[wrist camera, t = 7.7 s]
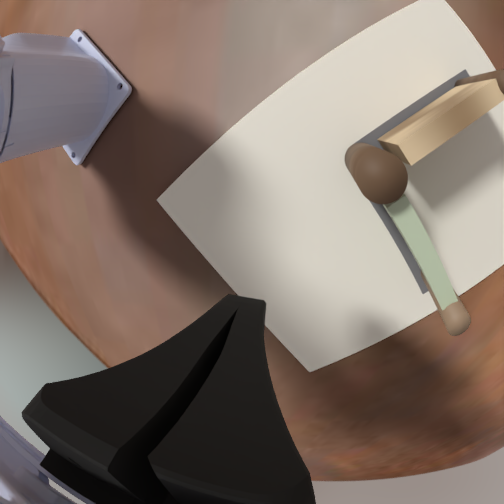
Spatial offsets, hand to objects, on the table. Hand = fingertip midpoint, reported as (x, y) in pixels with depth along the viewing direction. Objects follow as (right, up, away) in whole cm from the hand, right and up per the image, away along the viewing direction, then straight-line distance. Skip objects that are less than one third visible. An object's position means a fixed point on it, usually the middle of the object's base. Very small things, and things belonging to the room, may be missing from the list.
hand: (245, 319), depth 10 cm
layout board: (+8, +5, +6) cm, 12 cm away
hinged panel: (+10, +3, +5) cm, 12 cm away
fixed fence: (+9, +10, +3) cm, 14 cm away
